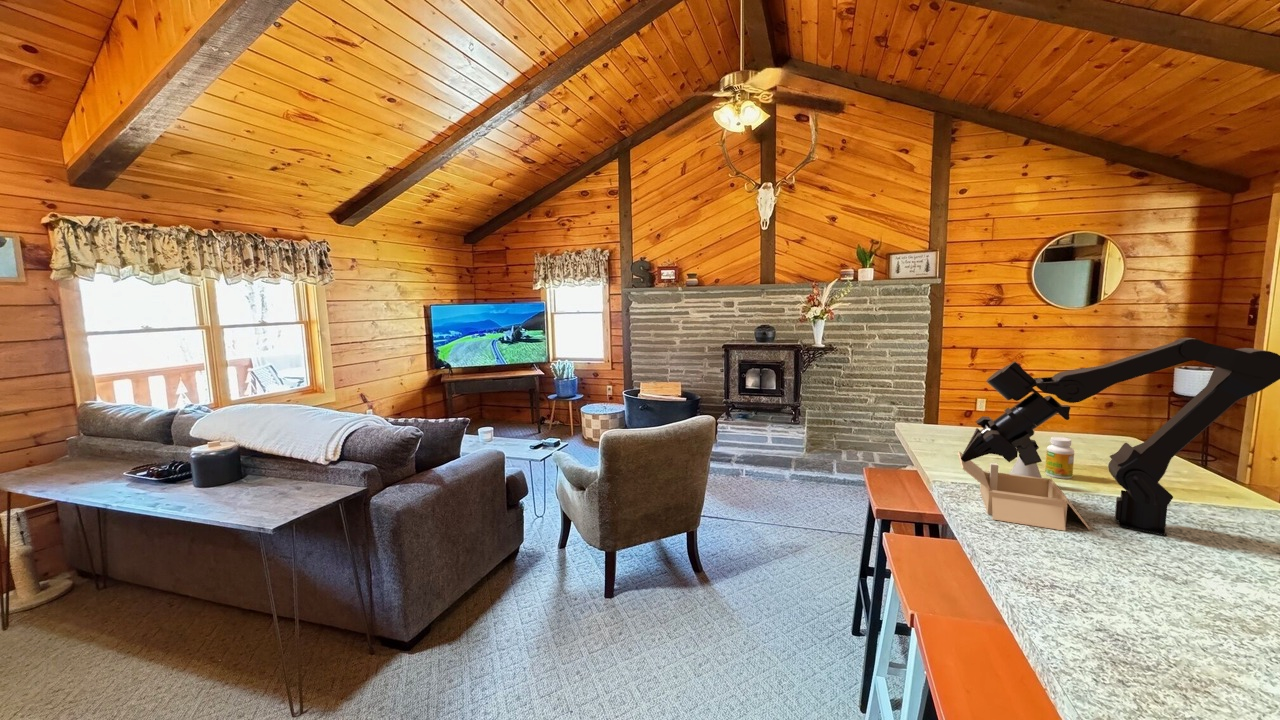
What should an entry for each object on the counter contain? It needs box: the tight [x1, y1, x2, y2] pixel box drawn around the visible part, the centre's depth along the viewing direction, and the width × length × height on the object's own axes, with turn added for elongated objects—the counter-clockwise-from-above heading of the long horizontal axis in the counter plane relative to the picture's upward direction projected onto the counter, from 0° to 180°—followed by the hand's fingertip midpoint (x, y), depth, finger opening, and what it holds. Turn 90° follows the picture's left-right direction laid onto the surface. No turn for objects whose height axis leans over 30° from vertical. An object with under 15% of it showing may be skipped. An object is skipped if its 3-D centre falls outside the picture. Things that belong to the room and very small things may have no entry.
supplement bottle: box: [1044, 436, 1075, 480], centre depth 126 cm, size 5×5×10 cm
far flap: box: [957, 451, 990, 490], centre depth 111 cm, size 1×14×6 cm
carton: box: [979, 470, 1091, 532], centre depth 107 cm, size 17×20×5 cm
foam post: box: [989, 462, 999, 491], centre depth 115 cm, size 1×1×7 cm
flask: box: [1008, 456, 1043, 478], centre depth 121 cm, size 7×7×10 cm
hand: (962, 460), depth 112 cm, fingers closed, pressing on far flap
